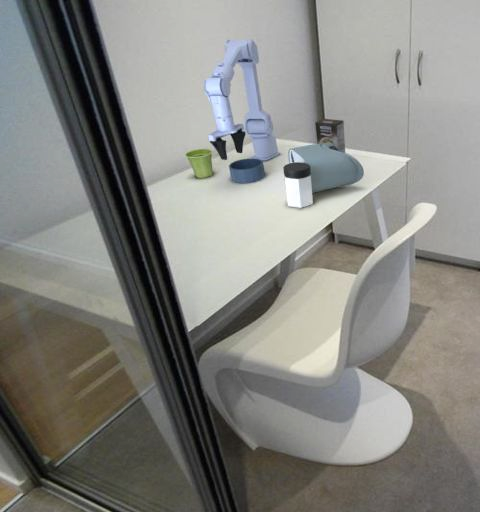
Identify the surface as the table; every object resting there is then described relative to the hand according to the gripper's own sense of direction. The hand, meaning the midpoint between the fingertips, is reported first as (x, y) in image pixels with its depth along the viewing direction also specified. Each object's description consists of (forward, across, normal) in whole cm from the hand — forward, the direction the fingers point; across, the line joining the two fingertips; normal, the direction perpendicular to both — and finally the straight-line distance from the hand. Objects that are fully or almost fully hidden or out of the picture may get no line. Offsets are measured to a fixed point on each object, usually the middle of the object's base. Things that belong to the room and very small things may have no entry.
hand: (232, 156), depth 150 cm
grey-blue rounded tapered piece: (+10, +11, -31) cm, 34 cm away
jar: (+10, -6, -31) cm, 33 cm away
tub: (+10, +6, 0) cm, 11 cm away
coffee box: (+10, +31, -21) cm, 39 cm away
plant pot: (+10, +1, +17) cm, 20 cm away
